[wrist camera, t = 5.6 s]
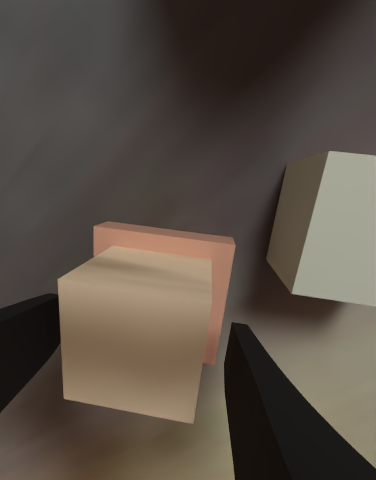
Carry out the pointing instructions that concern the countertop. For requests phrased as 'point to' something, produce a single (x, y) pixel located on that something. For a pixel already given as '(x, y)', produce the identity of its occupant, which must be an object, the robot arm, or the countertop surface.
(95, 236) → the plinth
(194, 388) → the maple block
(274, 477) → the robot arm
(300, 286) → the sage block
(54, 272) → the countertop surface
